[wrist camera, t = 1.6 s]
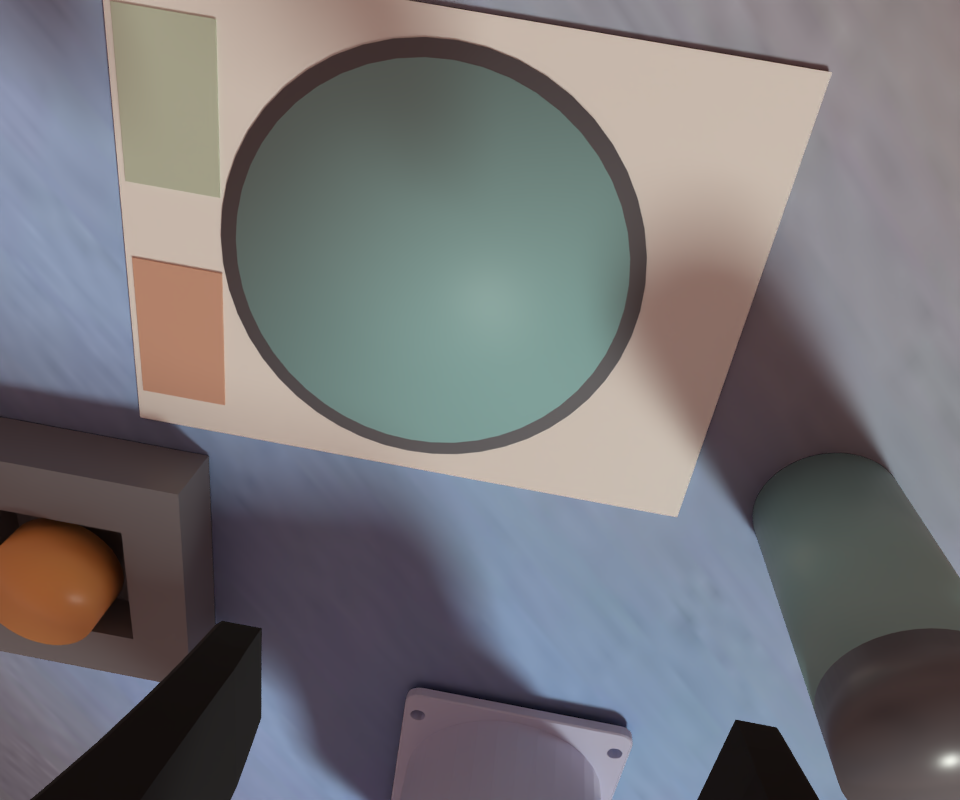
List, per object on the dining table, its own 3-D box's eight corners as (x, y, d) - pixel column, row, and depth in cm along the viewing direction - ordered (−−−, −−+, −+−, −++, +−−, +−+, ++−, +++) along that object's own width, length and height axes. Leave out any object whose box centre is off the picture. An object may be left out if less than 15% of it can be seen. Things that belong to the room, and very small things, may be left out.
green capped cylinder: (868, 578, 22) (1002, 848, 15) (733, 553, 22) (807, 810, 15) (927, 468, 20) (1113, 719, 13) (780, 440, 20) (886, 676, 13)
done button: (128, 616, 24) (100, 654, 23) (20, 595, 24) (-14, 632, 23) (118, 530, 22) (88, 565, 21) (2, 508, 23) (-36, 542, 21)
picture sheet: (676, 514, 22) (677, 518, 22) (142, 415, 22) (139, 418, 22) (830, 72, 16) (832, 72, 16) (100, -53, 16) (96, -53, 16)
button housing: (215, 642, 27) (190, 687, 25) (-3, 599, 27) (-43, 642, 25) (208, 455, 23) (178, 494, 21) (-48, 408, 23) (-99, 442, 21)
